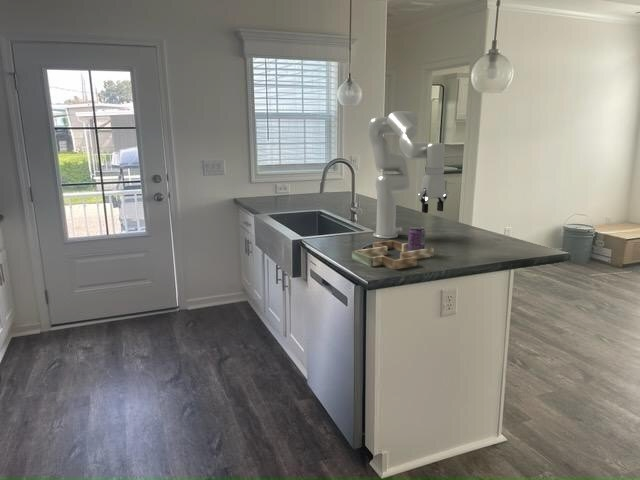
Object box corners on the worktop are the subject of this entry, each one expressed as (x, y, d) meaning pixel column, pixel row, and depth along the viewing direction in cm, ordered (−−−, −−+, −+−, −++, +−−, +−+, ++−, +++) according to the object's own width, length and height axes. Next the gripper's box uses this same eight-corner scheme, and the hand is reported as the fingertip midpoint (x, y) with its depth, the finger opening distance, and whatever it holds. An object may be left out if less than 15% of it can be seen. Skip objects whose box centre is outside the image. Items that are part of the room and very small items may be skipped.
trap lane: (401, 246, 224) (401, 238, 224) (446, 260, 200) (447, 252, 199) (341, 254, 208) (341, 247, 208) (383, 271, 183) (383, 262, 183)
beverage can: (421, 252, 214) (423, 225, 211) (425, 256, 207) (427, 228, 204) (406, 252, 213) (407, 225, 211) (409, 256, 207) (410, 228, 204)
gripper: (443, 170, 214) (441, 209, 218) (413, 172, 205) (411, 212, 209) (455, 171, 207) (453, 211, 211) (425, 173, 199) (423, 214, 203)
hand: (432, 211), depth 210 cm, fingers open, 8 cm apart
